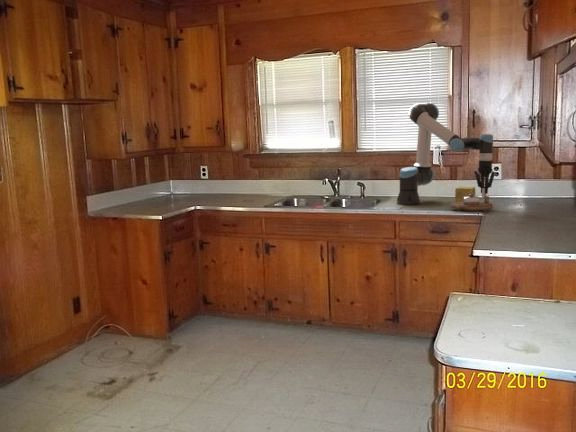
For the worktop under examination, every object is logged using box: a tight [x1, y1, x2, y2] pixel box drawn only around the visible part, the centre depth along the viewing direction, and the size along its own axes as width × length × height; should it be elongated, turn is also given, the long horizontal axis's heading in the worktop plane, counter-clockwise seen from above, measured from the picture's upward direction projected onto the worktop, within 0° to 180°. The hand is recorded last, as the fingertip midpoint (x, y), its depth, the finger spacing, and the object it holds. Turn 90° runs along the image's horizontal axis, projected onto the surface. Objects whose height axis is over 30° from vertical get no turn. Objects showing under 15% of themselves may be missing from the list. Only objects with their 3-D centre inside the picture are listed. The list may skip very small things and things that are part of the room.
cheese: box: [454, 186, 476, 202], centre depth 360 cm, size 10×11×10 cm
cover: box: [463, 194, 480, 206], centre depth 331 cm, size 9×9×6 cm
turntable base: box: [458, 209, 485, 213], centre depth 332 cm, size 14×14×2 cm
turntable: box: [450, 195, 494, 211], centre depth 331 cm, size 24×24×6 cm
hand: (484, 198), depth 336 cm, fingers closed
